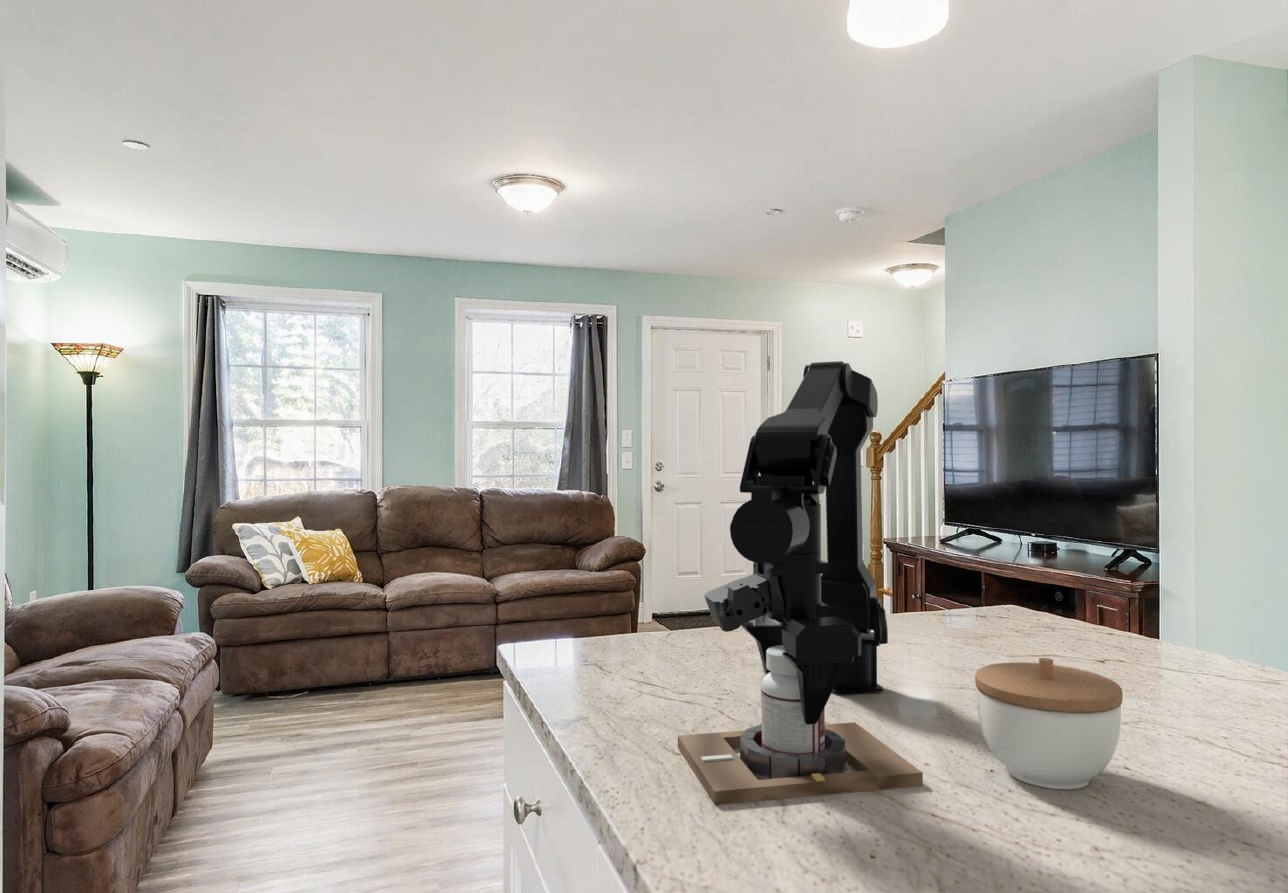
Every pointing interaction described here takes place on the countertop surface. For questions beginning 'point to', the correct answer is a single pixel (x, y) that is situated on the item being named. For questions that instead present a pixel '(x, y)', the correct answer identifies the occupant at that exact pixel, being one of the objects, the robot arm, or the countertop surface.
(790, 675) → the pill bottle
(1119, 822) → the countertop surface
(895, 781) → the socket board
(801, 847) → the countertop surface
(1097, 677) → the lidded bowl
